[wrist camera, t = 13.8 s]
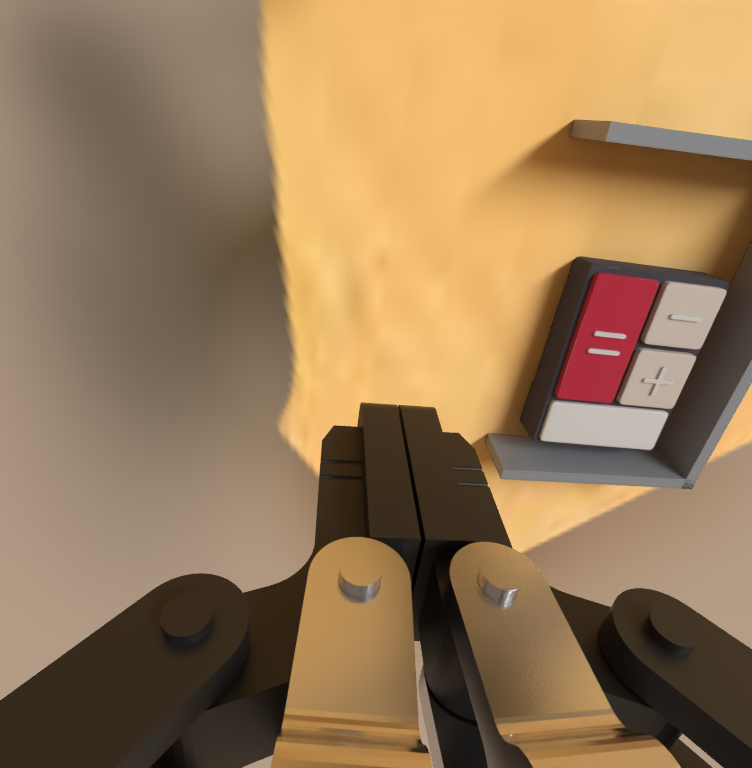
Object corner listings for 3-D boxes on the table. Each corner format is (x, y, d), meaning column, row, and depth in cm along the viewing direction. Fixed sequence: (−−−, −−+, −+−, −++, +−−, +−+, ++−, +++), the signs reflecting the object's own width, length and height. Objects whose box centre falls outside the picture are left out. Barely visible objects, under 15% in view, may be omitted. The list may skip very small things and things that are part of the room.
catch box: (574, 119, 32) (611, 121, 27) (808, 151, 33) (878, 157, 29) (485, 442, 44) (500, 478, 40) (659, 453, 46) (691, 489, 42)
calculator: (740, 284, 34) (658, 458, 41) (700, 270, 38) (631, 431, 45) (595, 265, 33) (534, 448, 40) (569, 252, 37) (517, 421, 44)
